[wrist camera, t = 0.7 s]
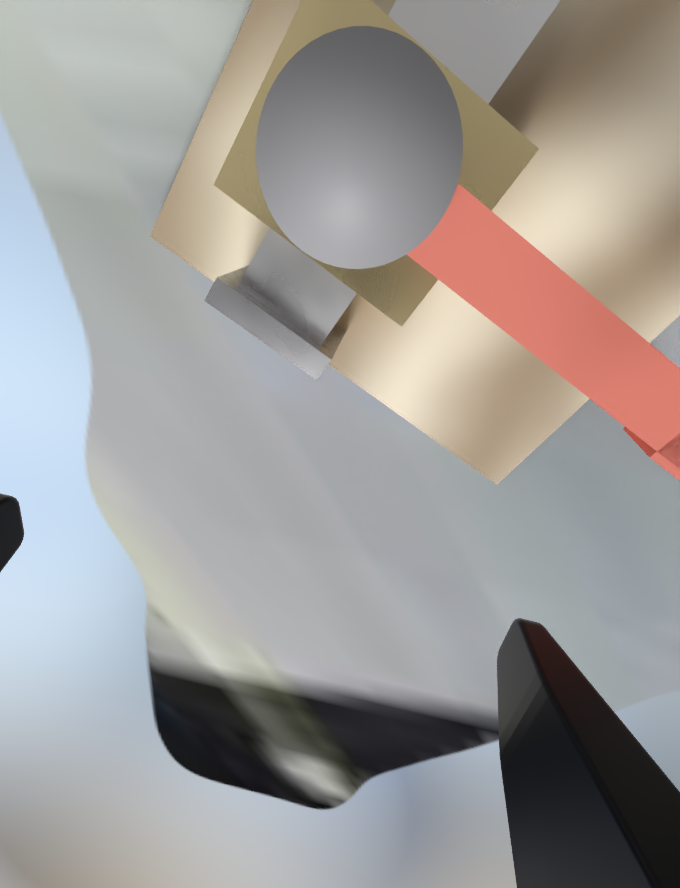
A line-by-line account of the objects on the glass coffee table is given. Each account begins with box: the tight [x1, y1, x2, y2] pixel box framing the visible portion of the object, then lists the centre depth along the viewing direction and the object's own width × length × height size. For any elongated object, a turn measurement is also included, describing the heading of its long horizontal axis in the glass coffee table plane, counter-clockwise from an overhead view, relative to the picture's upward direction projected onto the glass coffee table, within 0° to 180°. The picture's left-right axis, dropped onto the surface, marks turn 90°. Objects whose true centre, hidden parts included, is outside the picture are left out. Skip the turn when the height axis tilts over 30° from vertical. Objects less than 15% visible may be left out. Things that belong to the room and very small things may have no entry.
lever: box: [256, 26, 680, 481], centre depth 11 cm, size 14×4×2 cm, turn 55°
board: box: [150, 0, 680, 485], centre depth 15 cm, size 16×15×1 cm
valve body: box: [205, 0, 560, 380], centre depth 13 cm, size 6×14×4 cm, turn 145°
